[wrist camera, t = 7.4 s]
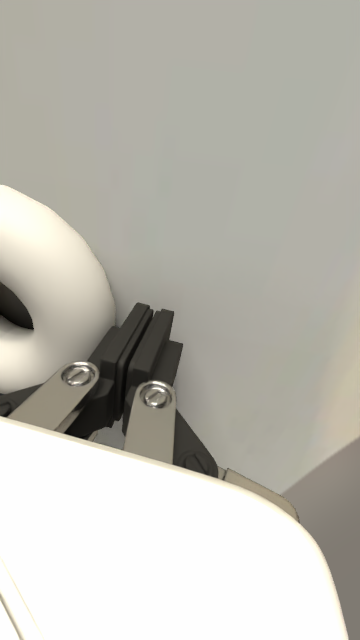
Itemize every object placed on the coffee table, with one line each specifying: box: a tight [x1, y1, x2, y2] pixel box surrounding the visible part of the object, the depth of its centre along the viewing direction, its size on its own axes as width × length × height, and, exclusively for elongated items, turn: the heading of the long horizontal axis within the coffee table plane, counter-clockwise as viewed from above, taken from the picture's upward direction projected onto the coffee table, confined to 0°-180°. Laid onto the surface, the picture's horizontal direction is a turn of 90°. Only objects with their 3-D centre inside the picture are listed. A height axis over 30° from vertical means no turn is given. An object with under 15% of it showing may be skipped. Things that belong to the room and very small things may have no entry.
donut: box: [0, 185, 115, 394], centre depth 13 cm, size 10×4×10 cm
